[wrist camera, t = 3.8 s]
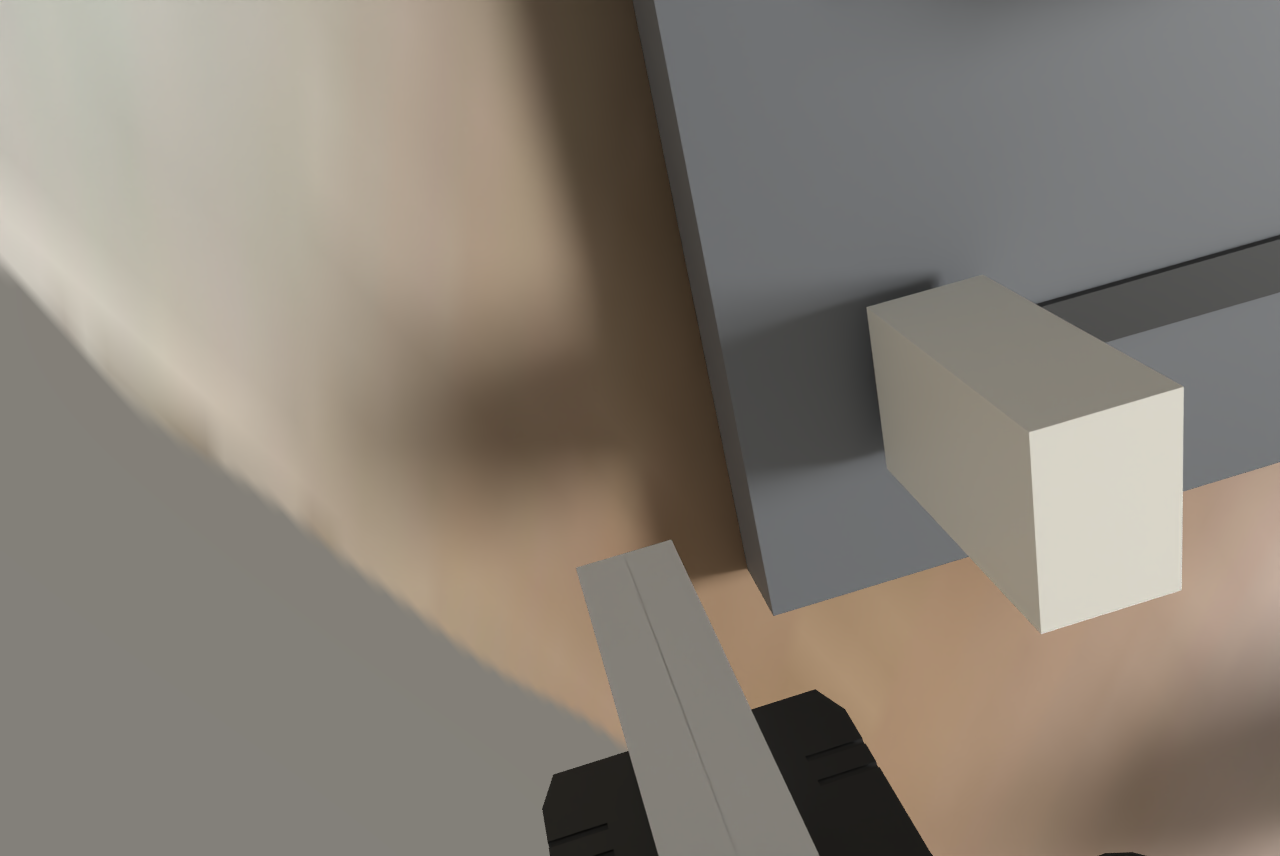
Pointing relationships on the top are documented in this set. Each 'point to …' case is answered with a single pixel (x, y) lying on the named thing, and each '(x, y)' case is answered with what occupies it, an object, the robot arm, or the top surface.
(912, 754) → the top surface
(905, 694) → the top surface
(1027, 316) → the fader
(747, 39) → the console
